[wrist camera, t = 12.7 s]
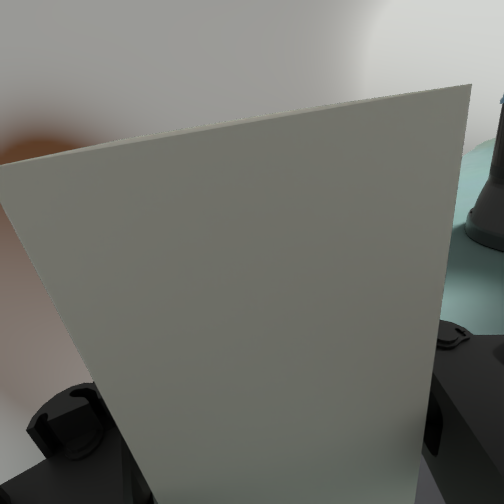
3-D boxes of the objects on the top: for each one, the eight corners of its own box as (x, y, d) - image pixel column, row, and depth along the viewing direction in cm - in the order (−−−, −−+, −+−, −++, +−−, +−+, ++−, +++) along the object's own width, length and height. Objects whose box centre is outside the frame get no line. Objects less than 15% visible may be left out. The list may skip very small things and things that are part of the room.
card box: (401, 591, 8) (472, 83, 3) (238, 656, 7) (-19, 168, 2) (312, 397, 14) (284, 111, 9) (215, 425, 13) (126, 138, 8)
